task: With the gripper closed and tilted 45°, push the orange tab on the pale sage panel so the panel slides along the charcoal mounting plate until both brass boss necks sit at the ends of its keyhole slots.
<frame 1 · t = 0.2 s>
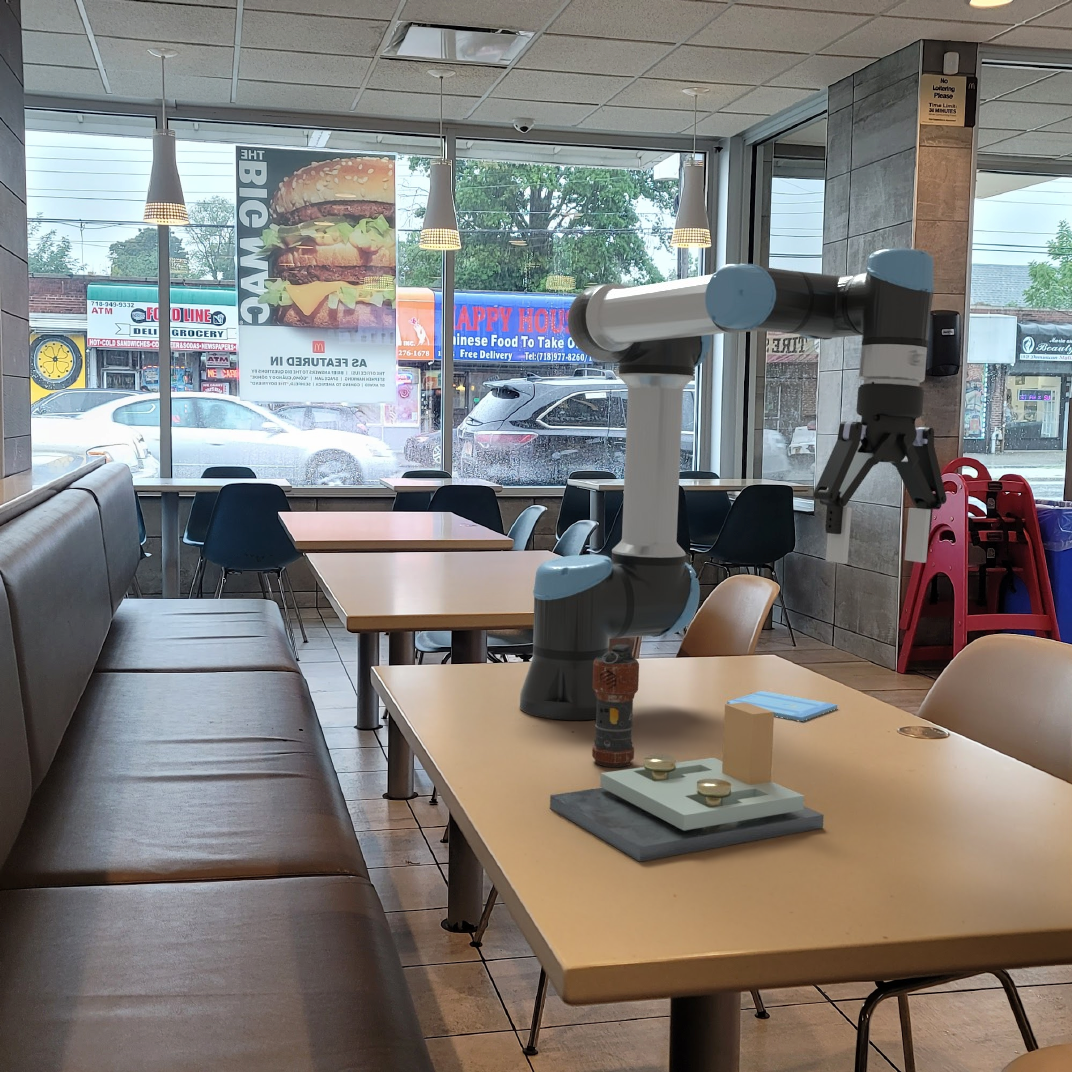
hand: (876, 562, 138), 28 cm above the table, tool pointing down, fingers open, 13 cm apart
mounting plate: (684, 817, 128), on the table
keyhole panel: (701, 755, 128), point 7 cm above the table, slide at 0.0 cm
light blue flat panel: (781, 711, 182), on the table
grenade: (614, 762, 149), on the table
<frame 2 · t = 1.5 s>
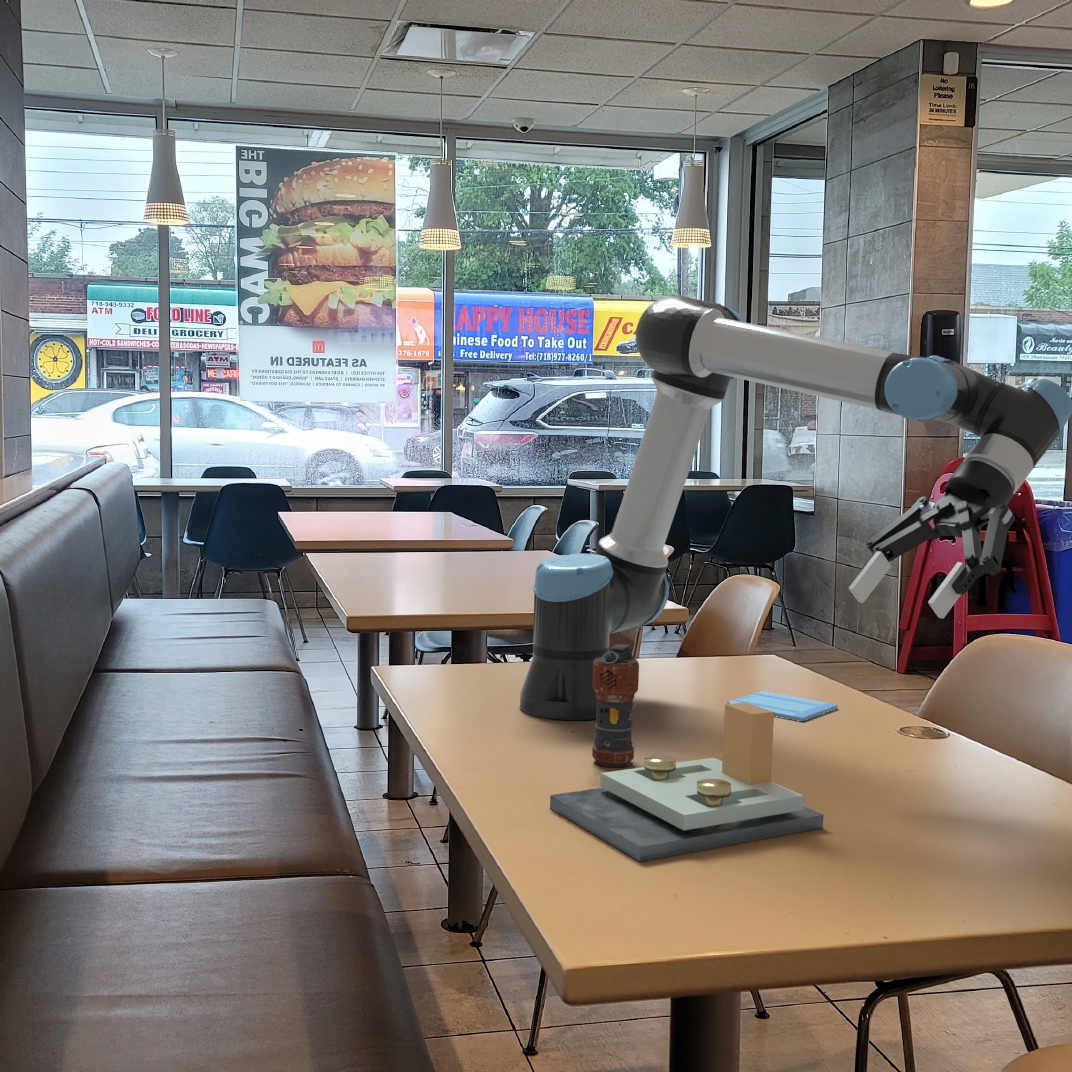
hand: (893, 603, 140), 23 cm above the table, tool tilted 45°, fingers open, 12 cm apart
nothing on the table moved.
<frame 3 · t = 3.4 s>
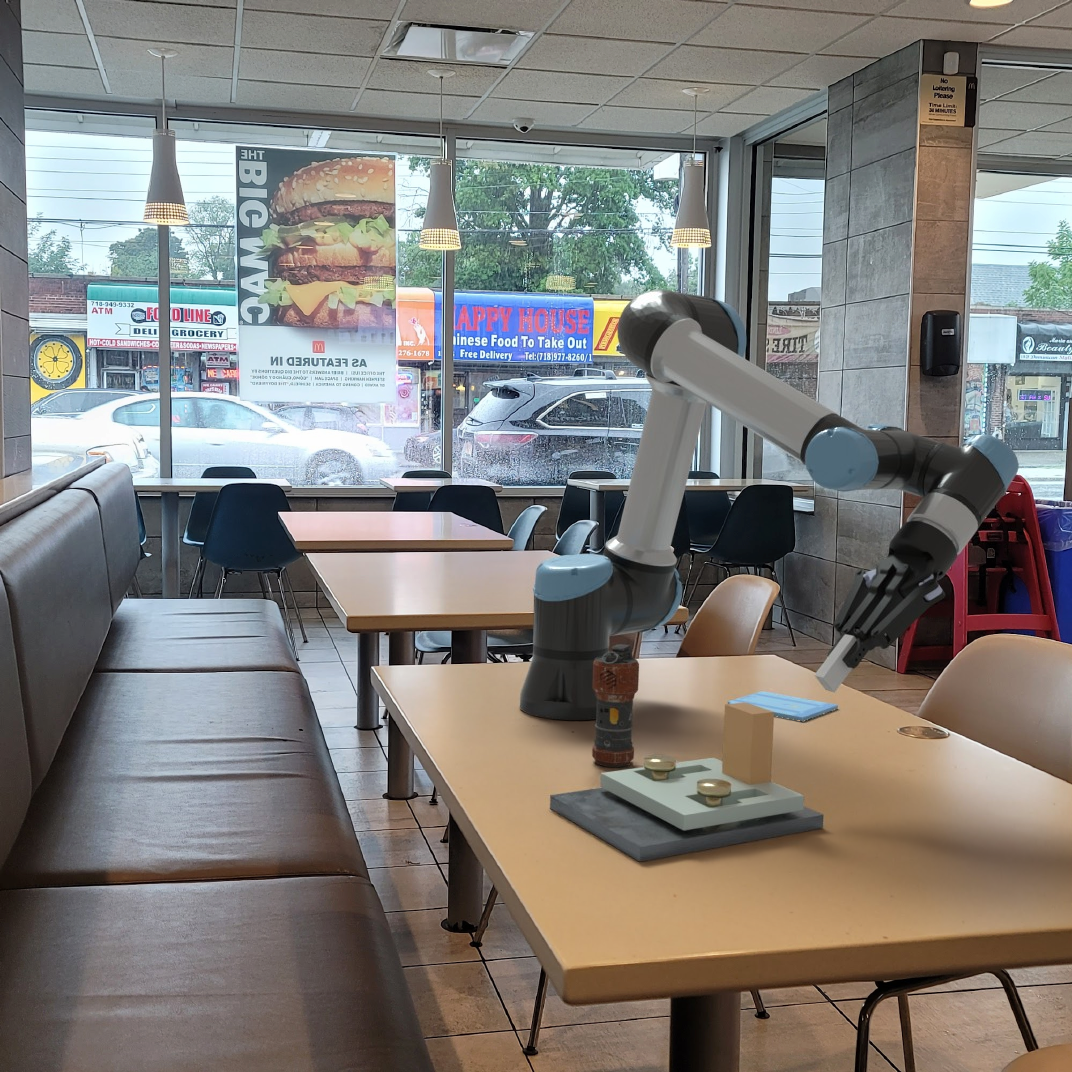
hand: (824, 683, 135), 14 cm above the table, tool tilted 45°, fingers closed
nothing on the table moved.
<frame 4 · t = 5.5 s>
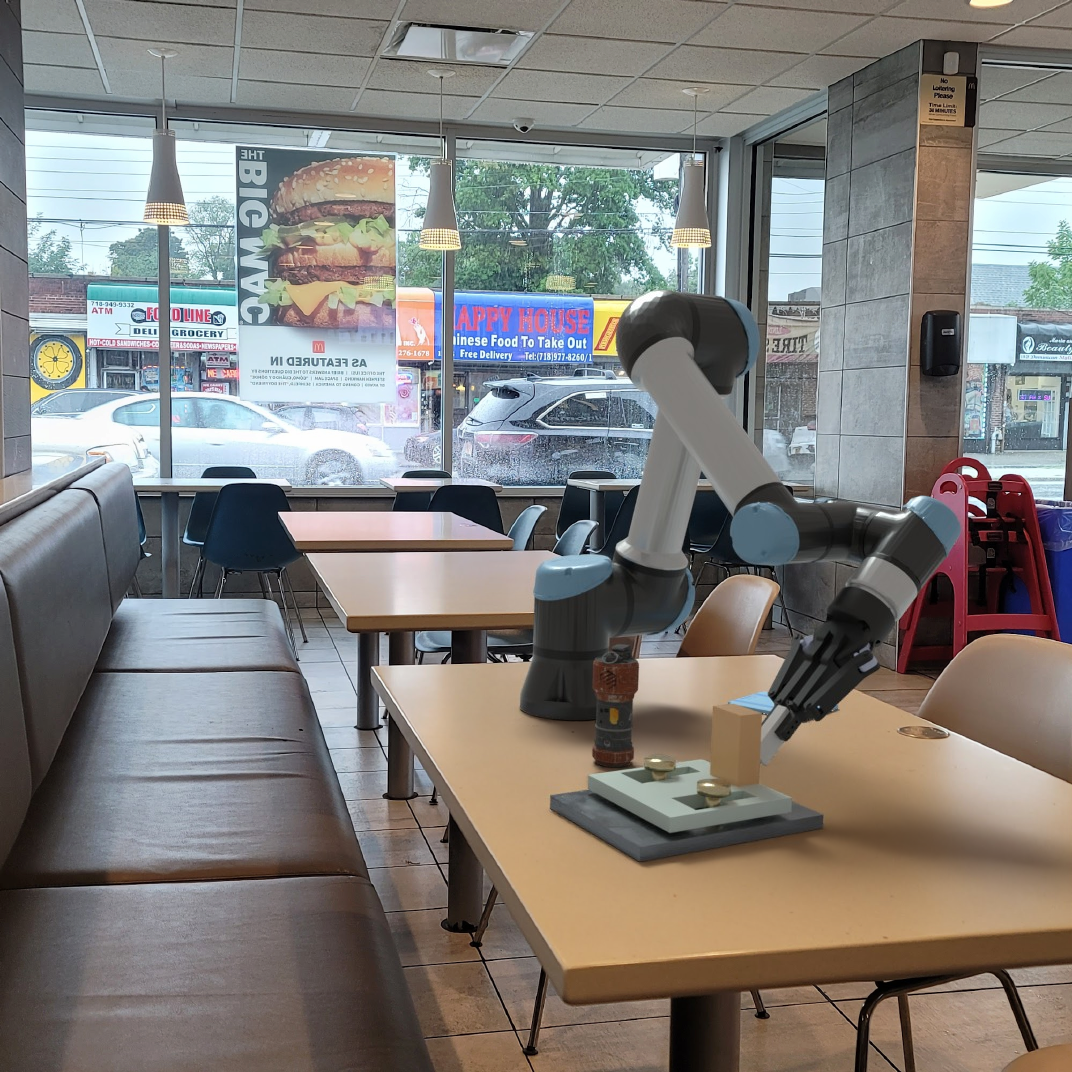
hand: (756, 756, 131), 6 cm above the table, tool tilted 45°, fingers closed
keyhole panel: (688, 757, 127), point 7 cm above the table, slide at 1.7 cm, touching gripper
everything else where it was.
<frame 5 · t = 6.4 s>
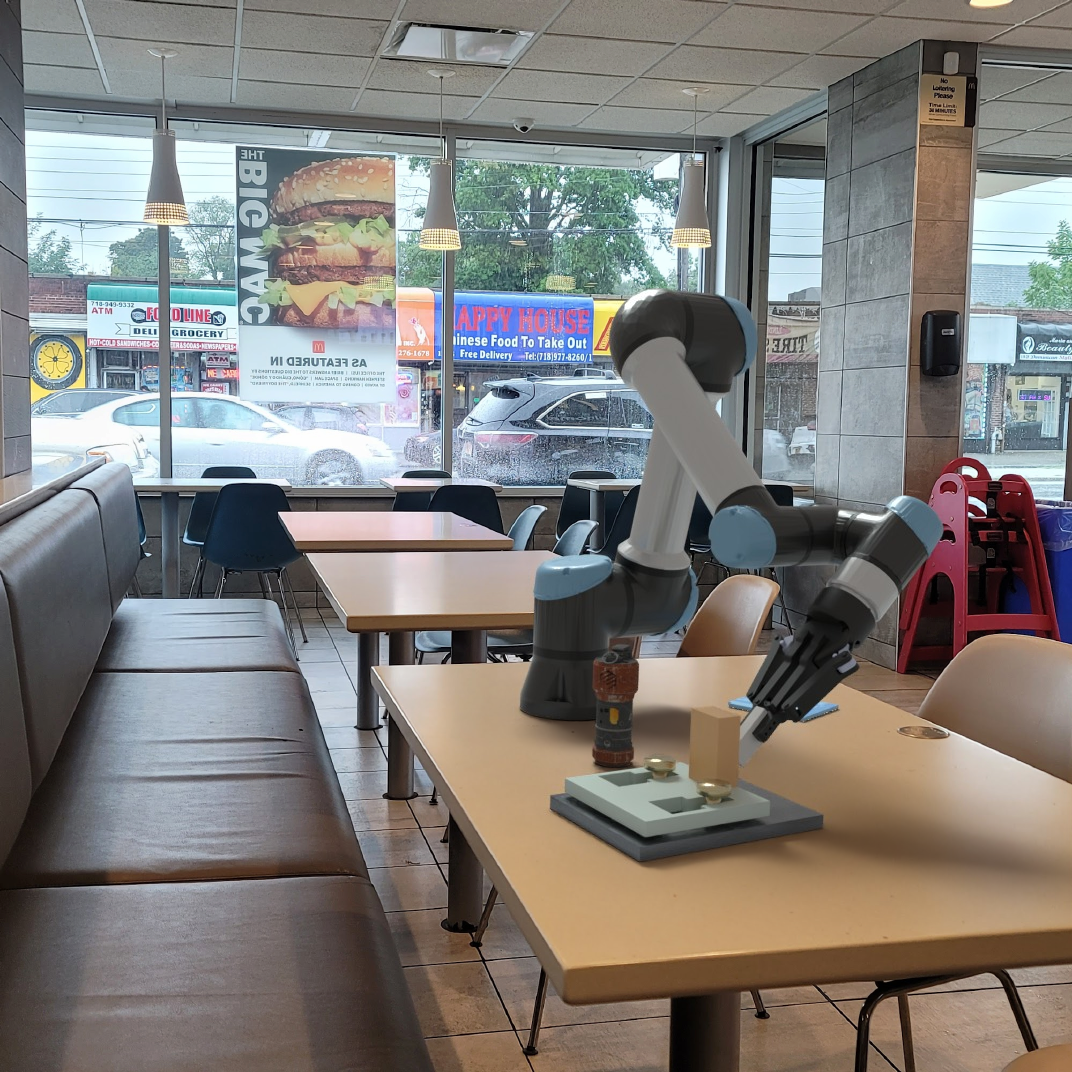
hand: (733, 758, 130), 6 cm above the table, tool tilted 45°, fingers closed
keyhole panel: (666, 760, 126), point 7 cm above the table, slide at 4.8 cm, touching gripper
everything else where it was.
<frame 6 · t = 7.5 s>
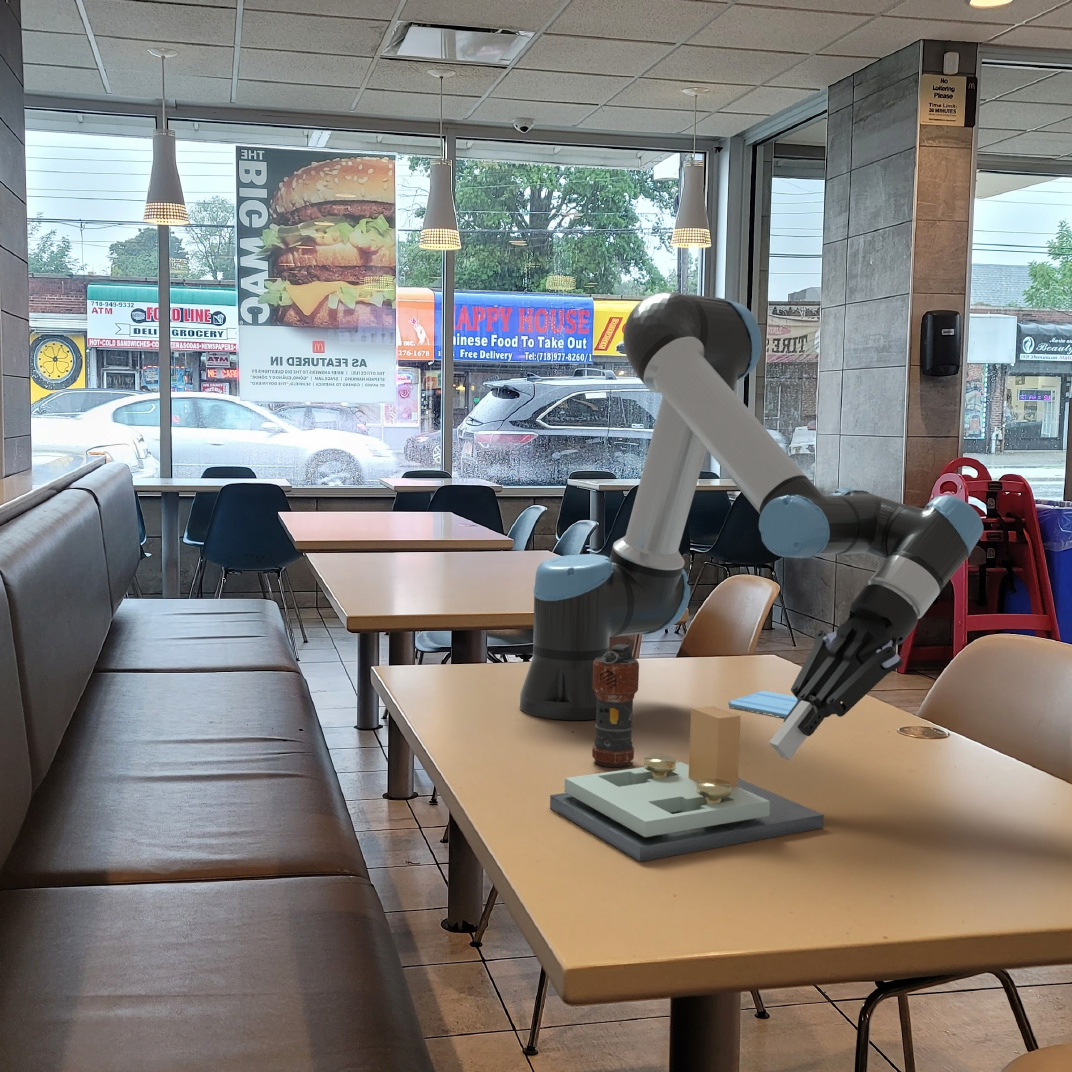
hand: (779, 751, 134), 6 cm above the table, tool tilted 45°, fingers closed
keyhole panel: (666, 760, 126), point 7 cm above the table, slide at 4.8 cm
everything else where it was.
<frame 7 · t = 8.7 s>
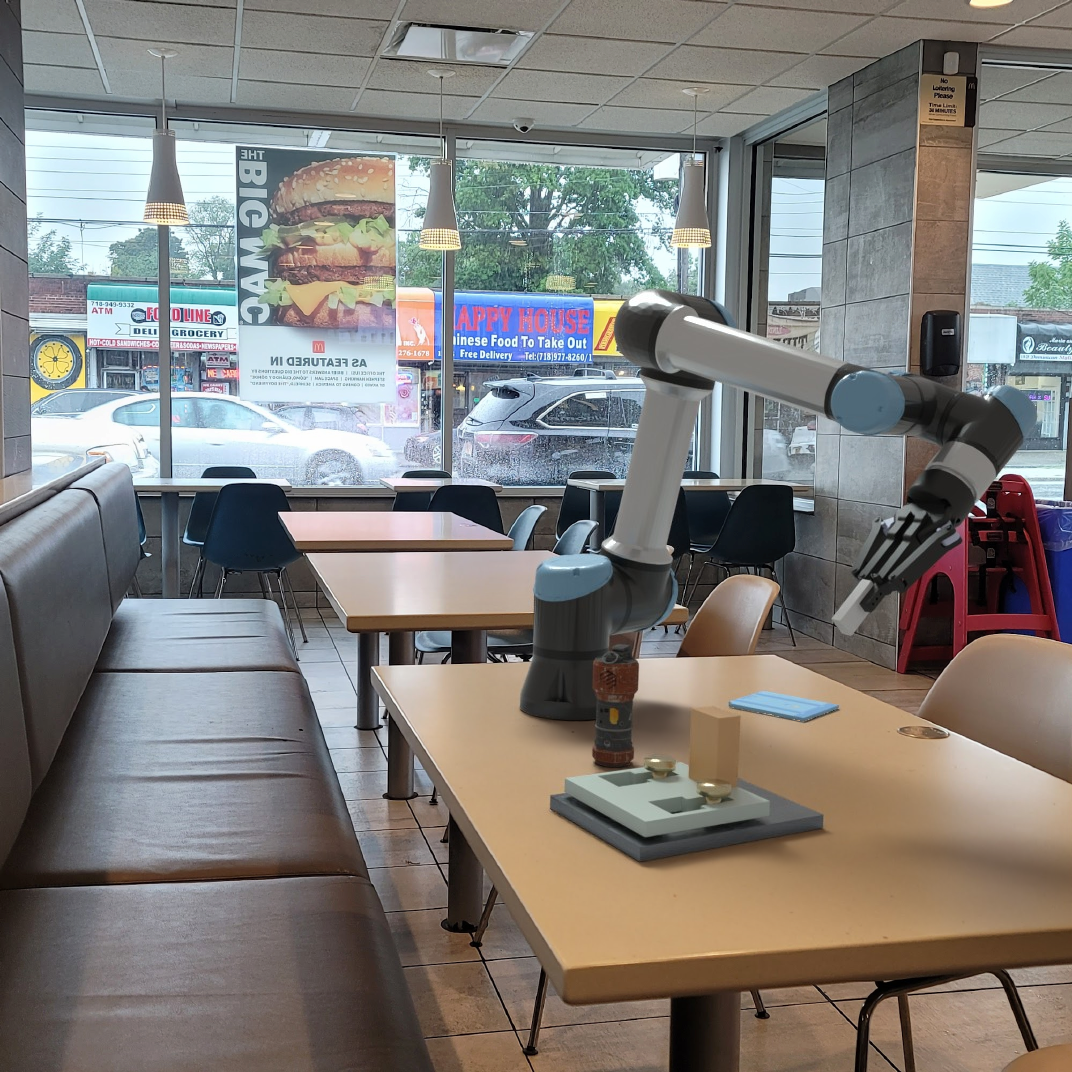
hand: (841, 627, 137), 20 cm above the table, tool tilted 45°, fingers closed
nothing on the table moved.
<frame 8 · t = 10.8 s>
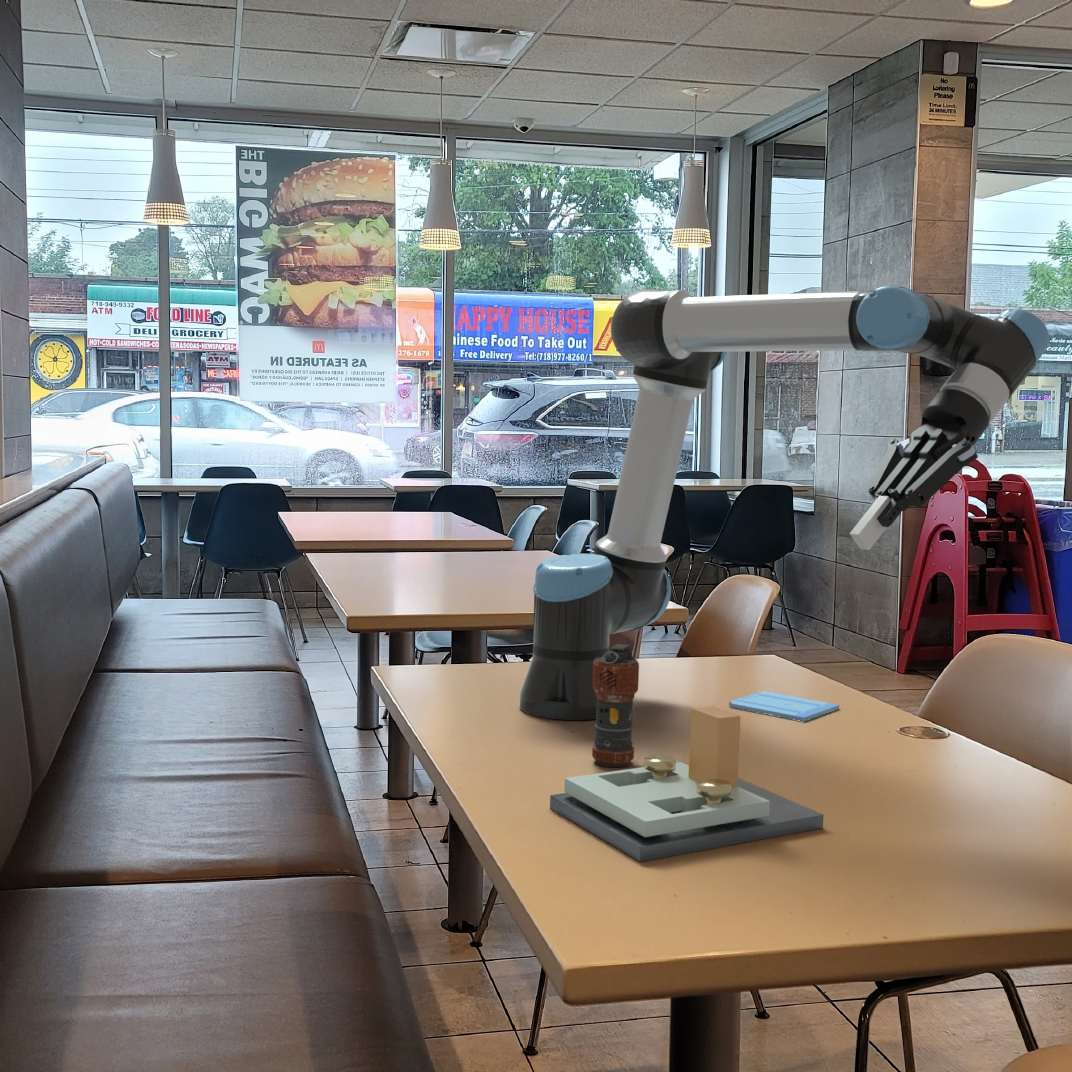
hand: (859, 541, 139), 30 cm above the table, tool tilted 45°, fingers closed
nothing on the table moved.
at the end: keyhole panel slide at 4.8 cm; grenade moved 0.2 cm from its start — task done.
